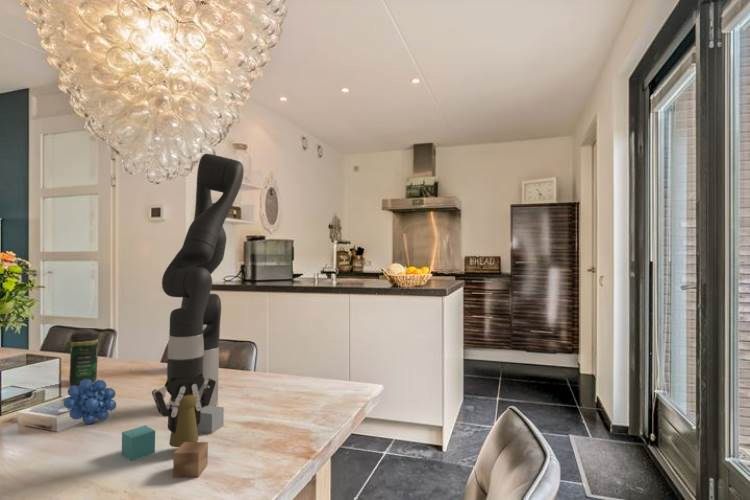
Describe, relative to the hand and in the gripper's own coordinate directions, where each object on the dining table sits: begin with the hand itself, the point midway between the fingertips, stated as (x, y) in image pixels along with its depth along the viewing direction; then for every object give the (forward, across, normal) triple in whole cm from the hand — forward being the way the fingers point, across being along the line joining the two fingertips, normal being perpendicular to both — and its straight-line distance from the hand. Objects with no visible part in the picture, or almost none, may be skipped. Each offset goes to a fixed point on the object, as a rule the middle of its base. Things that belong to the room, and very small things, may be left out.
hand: (184, 428), depth 96 cm
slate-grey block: (+5, -10, -8) cm, 14 cm away
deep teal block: (+5, +8, -6) cm, 11 cm away
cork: (+3, 0, 0) cm, 3 cm away
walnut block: (+5, +2, +10) cm, 12 cm away
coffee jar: (+6, +4, -78) cm, 78 cm away
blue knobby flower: (+6, +11, -32) cm, 35 cm away
